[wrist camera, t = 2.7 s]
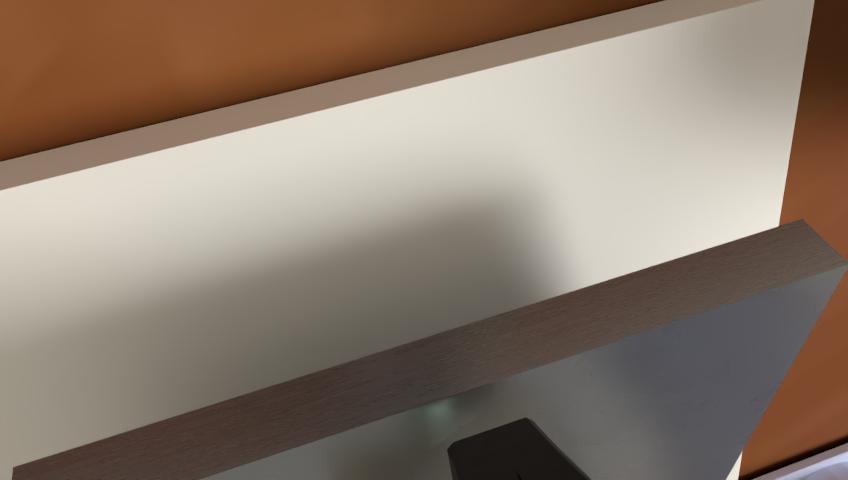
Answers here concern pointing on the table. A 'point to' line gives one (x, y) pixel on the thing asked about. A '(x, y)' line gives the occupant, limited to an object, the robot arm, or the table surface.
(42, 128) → the table surface
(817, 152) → the table surface
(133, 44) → the table surface
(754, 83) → the base board
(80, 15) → the table surface
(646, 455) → the plate
